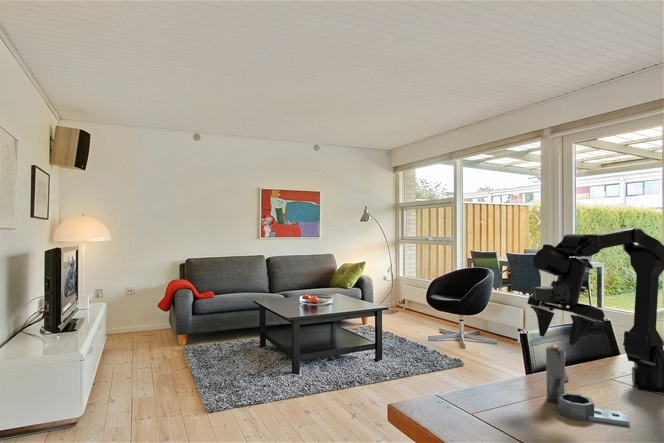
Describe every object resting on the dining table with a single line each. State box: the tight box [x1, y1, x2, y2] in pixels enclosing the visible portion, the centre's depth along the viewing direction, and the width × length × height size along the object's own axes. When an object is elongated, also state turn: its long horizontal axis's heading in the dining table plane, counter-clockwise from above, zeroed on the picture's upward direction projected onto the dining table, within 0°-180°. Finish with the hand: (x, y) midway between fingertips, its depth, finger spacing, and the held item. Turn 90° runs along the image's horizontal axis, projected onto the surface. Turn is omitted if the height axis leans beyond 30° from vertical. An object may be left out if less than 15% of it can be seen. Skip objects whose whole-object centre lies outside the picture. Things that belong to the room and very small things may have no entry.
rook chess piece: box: [564, 351, 570, 383], centre depth 123 cm, size 4×4×8 cm
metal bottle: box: [545, 344, 565, 405], centre depth 107 cm, size 4×4×14 cm
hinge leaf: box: [557, 392, 630, 427], centre depth 98 cm, size 14×7×4 cm, turn 68°
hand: (555, 340), depth 107 cm, fingers open, 9 cm apart
